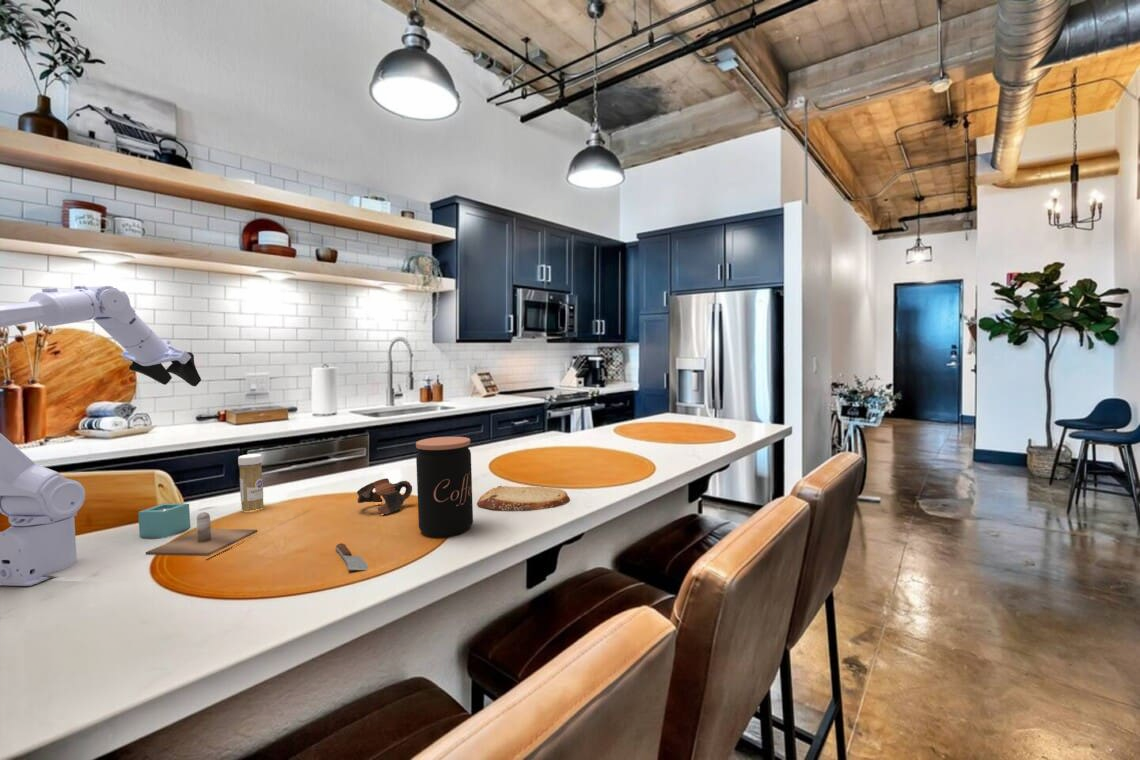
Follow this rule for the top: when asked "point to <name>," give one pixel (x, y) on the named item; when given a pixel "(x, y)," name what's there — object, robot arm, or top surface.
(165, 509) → the round base with peg
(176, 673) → the top surface
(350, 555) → the cleaver
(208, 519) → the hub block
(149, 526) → the teal collar
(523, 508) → the slice of bread
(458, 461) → the coffee jar
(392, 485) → the pottery mug
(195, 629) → the top surface
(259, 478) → the sprinkles bottle
